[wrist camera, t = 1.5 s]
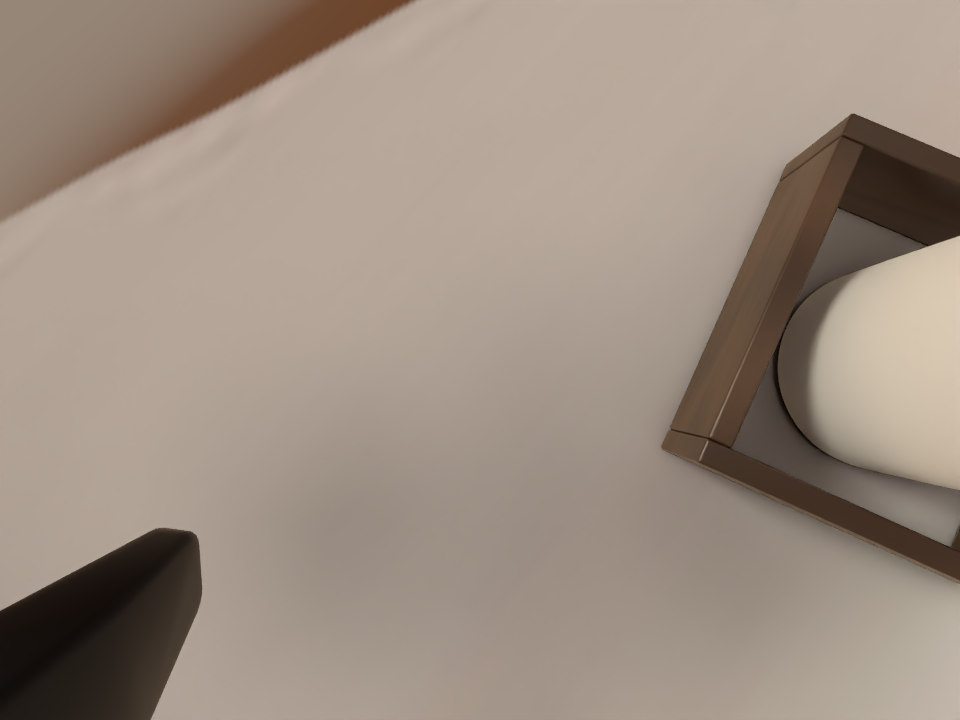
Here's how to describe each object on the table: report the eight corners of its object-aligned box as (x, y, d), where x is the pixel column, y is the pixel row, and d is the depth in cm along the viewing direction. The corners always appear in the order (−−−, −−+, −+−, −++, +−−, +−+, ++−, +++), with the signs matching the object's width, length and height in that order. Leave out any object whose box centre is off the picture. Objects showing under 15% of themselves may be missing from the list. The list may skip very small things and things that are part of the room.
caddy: (959, 583, 21) (1069, 630, 17) (660, 448, 21) (697, 462, 17) (1085, 289, 21) (1223, 266, 17) (786, 163, 21) (852, 111, 17)
